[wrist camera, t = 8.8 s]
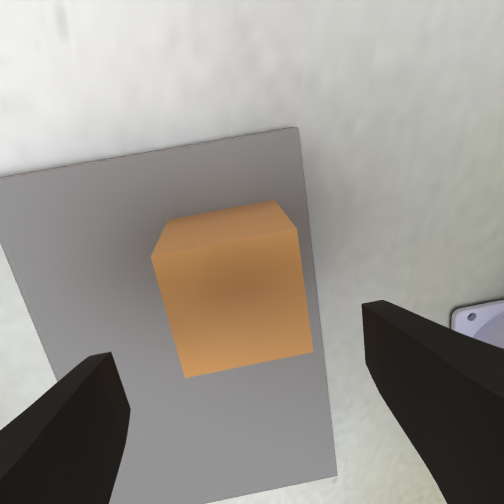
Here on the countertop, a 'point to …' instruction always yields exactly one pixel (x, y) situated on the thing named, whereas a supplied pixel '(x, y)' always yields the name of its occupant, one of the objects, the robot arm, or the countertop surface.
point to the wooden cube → (233, 287)
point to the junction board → (156, 321)
